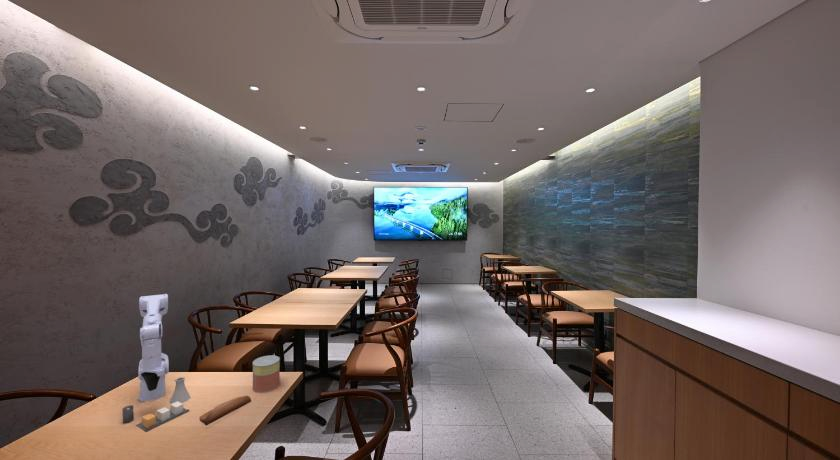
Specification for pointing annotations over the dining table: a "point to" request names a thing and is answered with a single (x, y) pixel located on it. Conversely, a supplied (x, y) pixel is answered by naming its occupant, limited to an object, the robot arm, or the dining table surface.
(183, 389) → the flask
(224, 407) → the brown tapered rod
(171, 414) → the panel
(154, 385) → the robot arm
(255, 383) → the canned food
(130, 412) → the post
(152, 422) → the toggle orange
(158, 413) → the toggle mid
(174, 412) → the toggle near
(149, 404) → the dining table surface
